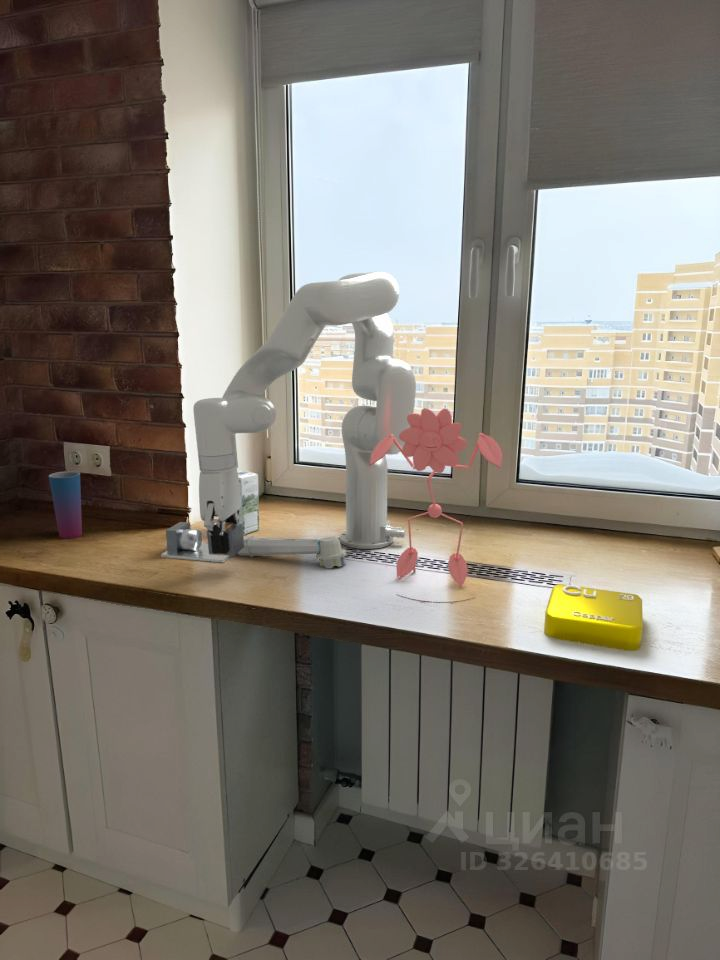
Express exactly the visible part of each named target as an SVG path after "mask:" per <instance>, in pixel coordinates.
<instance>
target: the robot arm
mask: <svg viewBox="0 0 720 960" xmlns="http://www.w3.org/2000/svg"><path fill="white" fill-rule="evenodd" d="M399 296H400V289H399V285H398V283H397V280H396V279H395V278H394V277H393V276H392V275H391V274H389V273H387V272H384V271H372V272H371V271H370V272H358V273H356V272H355V273H350V274H346V275H344V276H342V277H340V278H339V279H338V280H332V281H319V282H318V281H317V282H309V283H306V284H304V285H302V286H300V288H298V290H297V291H296V292H295V294H294V295H293V297H292V298H291V300H290V302H289V303H288V305H287V307H286V308H285V310H284V312H283V314H282V315H281V316H280V318H279V320H278V322H277V324H276V325H275V327H274V329H273V330H272V332H271V334H270V335H269V337H268V339H267V340H266V341H265V342H264V343H263V344H262V345H261V346H260V347H259V348H258V349H257V350H256V351H255V352H254V353H253V354H252V355H251V356H250V357H249V358H248V359H247V360H246V361H245V362H244V363H243V364H242V366H241V367H240V368H239V369H238V371H237V372H236V373H235V374H234V376H233V378H232V379H231V381H230V383H229V384H228V386H227V388H226V389H225V391H224V393H223V394H222V395H223V396H221V397H211V398H210V397H209V398H203V399H199V400H197V401H196V402H195V403H194V404H193V420H194V428H195V439H196V449H197V457H198V467H199V476H198V477H199V478H198V499H199V500H198V502H199V516H200V520H202V521H203V528H204V527H205V528H206V529H207V530H208V531H209V535H211V545H212V552H213V553H216V554H227V553H228V546H227V536H226V534H224V528H225V523H226V522H233V523H234V524H239V517H238V515H239V509H240V507H241V492H240V484H239V478H238V472H239V471H238V468H239V462H238V452H237V451H238V450H237V440H236V437H237V436H236V434H259V433H262V432H263V433H264V432H265V431H268V430H269V429H270V428H271V427H272V426H273V425H274V423H275V422H276V417H277V411H276V410H277V409H276V407H275V406H274V404H273V402H272V401H271V400H270V399H268V398H267V397H265V396H263V394H264V393H265V392H266V390H267V389H268V388H269V387H270V385H272V384H273V383H274V382H275V381H276V380H278V379H279V378H281V377H283V376H284V375H287V374H288V373H289V374H290V373H291V372H292V371H295V370H296V369H298V368H300V366H302V365H303V364H304V363H305V361H306V360H307V358H308V356H309V354H310V352H311V350H312V349H313V347H314V346H315V344H316V342H317V340H318V339H319V337H320V336H321V334H322V332H323V331H324V329H325V327H326V326H327V327H328V326H333V327H334V326H342V325H348V324H351V325H352V327H353V330H354V331H353V332H354V351H353V362H352V363H353V364H352V373H351V385H352V387H351V388H352V390H353V392H354V394H356V396H357V397H359V398H361V399H363V400H364V399H365V400H368V401H373V402H376V406H373V405H372V406H371V405H357V406H355V407H353V408H351V409H350V410H349V411H347V413H345V414H344V417H343V419H342V422H341V435H342V442H343V446H344V447H343V448H344V456H345V531H343V532H341V533H340V535H339V541H340V544H342V545H344V546H345V547H349V548H352V549H358V550H359V549H360V550H374V549H382V548H385V547H388V546H389V545H392V544H393V543H394V538H398V539H399V538H401V539H404V538H406V537H405V536H406V529H403V527H401V526H392V525H391V520H388V471H389V470H388V462H387V461H388V460H387V457H386V455H387V456H388V455H390V456H392V455H396V454H399V453H401V451H400V450H399V448H398V447H397V446H396V444H395V443H394V441H393V443H392V446H391V448H390V450H389V451H388V453H387V454H386V455H385V456H384V457H383V458H382V459H380V460H379V461H377V462H376V463H374V464H373V465H370V459H371V454H372V452H373V450H374V448H375V447H376V446H377V444H378V443H379V442H380V441H382V440H383V439H384V438H385V437H388V436H390V435H391V434H393V435H394V438H395V440H396V441H397V442H398V444H399V445H400V447H401V448H402V449H403V446H404V444H405V442H403V441H402V440H400V439H399V434H400V433H401V432H402V431H403V430H405V429H407V428H410V425H409V423H408V421H407V416H408V415H409V414H411V413H415V412H414V410H415V401H416V392H417V383H416V376H415V374H414V371H413V368H412V367H411V366H410V365H409V364H408V363H407V362H405V361H403V360H401V359H398V358H394V328H393V324H392V322H391V319H390V316H389V314H388V313H389V312H391V311H392V310H393V309H394V308H395V307H396V305H397V303H398V302H399V298H400V297H399ZM215 517H218V518H217V519H216V518H215ZM217 523H220V528H219V527H218V526H217V525H215V524H217Z"/></svg>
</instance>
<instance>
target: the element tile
mask: <svg viewBox="0 0 720 960" xmlns="http://www.w3.org/2000/svg"><path fill="white" fill-rule="evenodd" d="M544 611H545V613H544V623H543V624H544V627H543V634H544V635H545V634H546V635H545V636H547V637H548V638H552V639H555V640H561V641H568V642H573V643H578V642H580V643H579V644H584V643H586V644H585V645H590V644H591V645H592V646H596V647H597V646H598V647H603V648H609V649H614V648H615V650H622V651H628V652H632V651H633V652H635V651H636V652H637V651H638V650H640V649H641V647H642V646H641V645H642V638H643V628H644V620H643V619H644V617H643V615H644V614H643V599H642V598H641V597H640V596H639V595H638V594H635V593H630V592H629V593H628V592H621V591H615V590H606V589H599V588H590V587H586V586H585V587H584V586H577V585H573V584H572V585H571V584H563V583H558V584H556V585H554V586H553V587H552V589H551V592H550V595H549V598H548V602H547V605H546V609H545V610H544Z"/></svg>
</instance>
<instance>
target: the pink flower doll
mask: <svg viewBox="0 0 720 960" xmlns="http://www.w3.org/2000/svg"><path fill="white" fill-rule="evenodd" d="M452 418H453V417H452V413H451V412H450V410H449V409H448V408H442V409H441V410H439V412H438V413H437V414H435V412H434V411H432V410H430V409H429V408H423V409H421V412H420V414H419V413H415V412H413V413H411V414H409V415H408V416H407V421H408V423H409V425H410V428H407V429H405V430H403V431H402V432H401V433H400V434H399V439H400V440H402V441H403V442H405V444H404V446H403V449H402V448H401V447H400V445H399V444H398V442H397V441H396V440H395V438H394V435H393V434H391V435H390V436H388V437H385V438H384V439H383V440H382V441H380V442H379V443H378V444H377V446H376V447H375V448H374V450H373V452H372V454H371V459H370V465H373V464H374V463H376V462H377V461H379V460H380V459H382V458H383V457H384V456H386V455H388V454H387V453H388V451H389V450H390V448H391V446H392V443H393V441H394V443H395V444H396V446H397V447H398V448H399V450H400V451H401V452H400V453H401V454H402V456H403V457H404V458H405V460H406V461H407V463H408V464H409V466H410V467H411V468H412V470H416V471H417V472H423V471H424V470H426V468H427V467H430V468H431V469H432V472H431V473H430V474H429V476H428V477H427V478H426V479H427V480H426V484H427V487H428V489H429V490H428V491H429V494H430V497H431V498H430V499H431V501H432V504H430V505H429V507H427V511H426V512H423V513H420V514H418V515H417V514H416V515H414V516H410V517H408V519H407V523H408V524H407V525H408V540H409V541H408V542H409V547H407V548H406V549H405V550H404V551H403V552H402V553H401V554H400V556H399V557H398V559H397V563H396V577H397V578H396V579H397V581H399V580H401V579H403V578H405V577H406V576H408V575H409V574H410V573H411V572H413V573H416V572H417V570H416V564H417V562H418V557H419V556H418V555H419V554H418V553H419V552H418V550H417V549H416V548H415V547H414V546H412V534H411V533H412V531H411V529H412V528H411V520H412V519H415V518H416V519H417V518H418V517H421V516H425V515H429V516H430V517H431V518H435V519H436V518H439V517H440V516H443V517H444V518H447V519H449V520H451V521H454V522H455V523H458V524H460V529H459V536H458V543H457V549H456V552H453V553H452V554H451V555H449V559H448V565H447V567H448V572H449V574H450V577H451V578H452V579H453V580H454V581H455V583H456V584H458V586H459V587H461V588H462V587H463V586H464V583H465V582H466V579H467V576H468V569H469V568H468V564H467V561H466V559H465V558H464V557H463V555H462V554H461V553H459V551H460V547H461V540H462V534H463V529H464V528H463V527H464V524H463V522H462V521H460V520H457V519H455V518H453V517H451V516H449V515H446V514H444V513H442V506H441V505H439V504H437V503H436V500H435V498H434V493H433V488H432V483H431V479H432V478H433V476H434V475H435V473H437V474H442V473H444V470H445V468H446V467H452V468H459V469H463V470H470V468H471V467H472V464H473V461H475V460H474V459H475V457H476V456H477V455H476V454H477V452H478V450H479V452H480V454H481V456H482V457H483V458H484V459H485V460H486V461H487V462H489V463H490V464H492V465H493V466H495V467H496V468H499V469H500V468H502V464H503V463H502V462H503V452H502V450H501V447H500V445H499V444H498V442H497V441H496V440H495V439H494V438H493V437H491V436H490V435H487V434H484V432H479V434H478V436H479V437H478V439H477V443H476V445H475V448H474V449H473V452H472V455H471V457H470V460H469V462H468V465H462V464H461V465H460V464H459V461H460V459H459V456H458V455H457V453H458V452H461V451H463V450H464V449H465V448H467V446H468V441H467V439H464V438H463V437H461V436H460V435H461V431H462V424H461V423H459V422H453V419H452ZM410 458H412V460H411V459H410ZM412 461H413V462H412ZM388 566H390V565H389V564H387V565H386V566H385V568H387V567H388ZM396 596H398V597H402V598H404V599H408V600H413V601H417V602H422V603H425V604H427V603H431V601H428V600H420V599H414V598H409V597H407V596H403V595H400V594H397V593H396ZM475 598H476V596H475V597H471V598H468V599H463V600H462V599H461V600H456V601H455V600H454V601H452V602H451V601H434V603H436V604H437V603H439V604H441V603H443V604H444V603H445V604H446V603H450V604H452V605H453V603H454V604H455V603H456V604H457V603H460V602H464V601H470V600H473V599H475Z"/></svg>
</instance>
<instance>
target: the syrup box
mask: <svg viewBox="0 0 720 960" xmlns="http://www.w3.org/2000/svg"><path fill="white" fill-rule="evenodd" d="M237 472H238V478H239V484H240V492H241V507H240V509H239V515H238V517H239V524H242V527H243V536H245V535H246V536H247V535H248V534H252V533H254V531H255V532H258V531H260V513H259V512H260V509H259V508H260V507H259V506H260V502H259V500H260V499H259V498H260V497H259V474H257V473H255V472H252V471H246V470H240V471H237Z"/></svg>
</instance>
